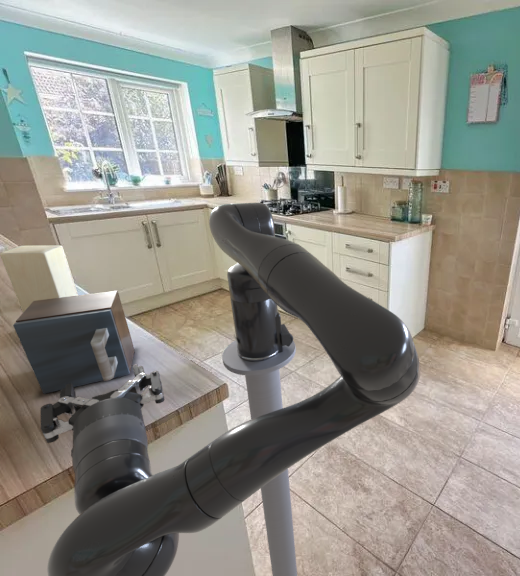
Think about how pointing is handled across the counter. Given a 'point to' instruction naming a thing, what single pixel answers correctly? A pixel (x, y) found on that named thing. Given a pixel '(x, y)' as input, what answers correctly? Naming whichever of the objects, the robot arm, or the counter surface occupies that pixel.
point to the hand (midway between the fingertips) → (105, 378)
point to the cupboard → (83, 305)
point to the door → (73, 349)
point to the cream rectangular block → (38, 273)
